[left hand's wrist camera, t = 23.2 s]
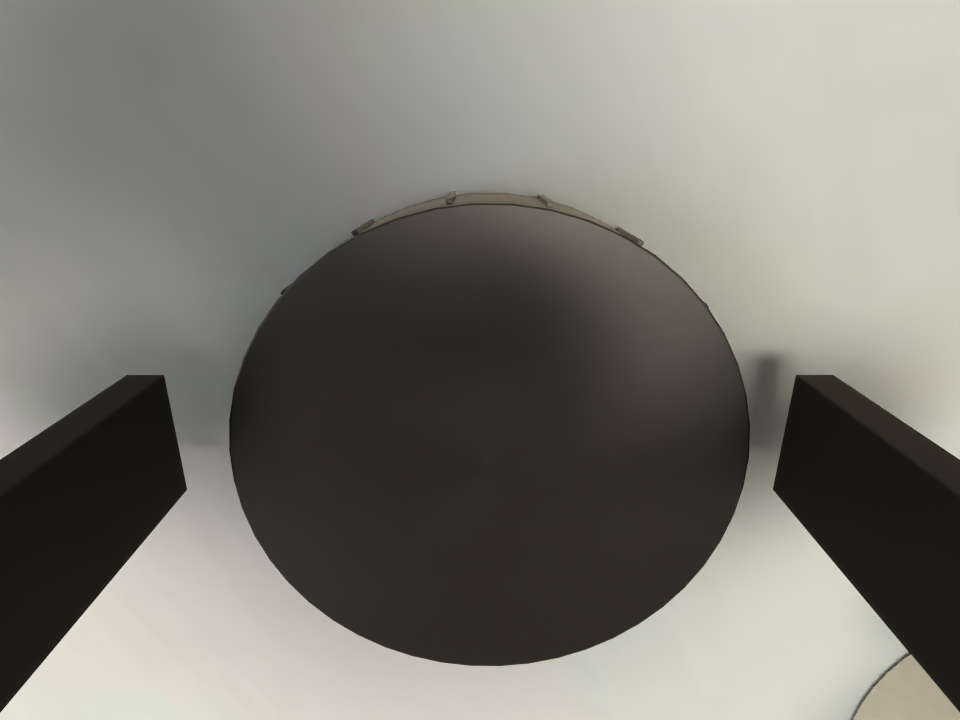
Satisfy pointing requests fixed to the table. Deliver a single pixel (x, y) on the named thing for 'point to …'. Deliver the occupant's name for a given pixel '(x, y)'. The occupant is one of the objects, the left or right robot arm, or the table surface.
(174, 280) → the table surface
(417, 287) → the lid
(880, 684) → the jar
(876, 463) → the left robot arm
